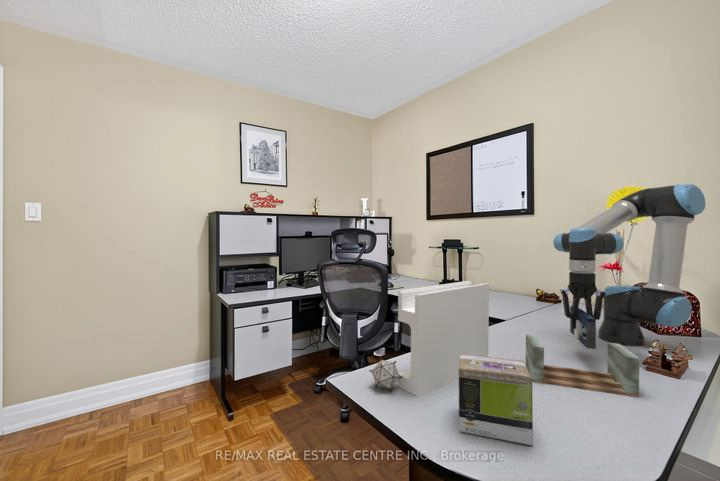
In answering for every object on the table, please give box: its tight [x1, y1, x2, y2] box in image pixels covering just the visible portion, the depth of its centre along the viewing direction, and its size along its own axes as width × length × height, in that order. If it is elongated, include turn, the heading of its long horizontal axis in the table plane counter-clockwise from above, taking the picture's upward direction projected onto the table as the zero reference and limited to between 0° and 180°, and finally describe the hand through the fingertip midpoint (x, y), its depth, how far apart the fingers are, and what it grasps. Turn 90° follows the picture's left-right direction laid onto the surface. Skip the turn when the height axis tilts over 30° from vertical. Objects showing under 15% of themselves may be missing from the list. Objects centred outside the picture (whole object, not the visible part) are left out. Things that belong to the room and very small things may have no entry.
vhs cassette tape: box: [569, 305, 597, 350], centre depth 109 cm, size 18×3×10 cm, turn 159°
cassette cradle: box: [525, 333, 641, 398], centre depth 95 cm, size 26×12×11 cm, turn 70°
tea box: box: [458, 354, 534, 446], centre depth 71 cm, size 15×10×15 cm, turn 71°
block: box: [397, 280, 490, 398], centre depth 98 cm, size 35×8×28 cm, turn 127°
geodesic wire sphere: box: [368, 357, 402, 393], centre depth 89 cm, size 9×8×10 cm
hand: (581, 338), depth 109 cm, fingers closed on vhs cassette tape, 2 cm apart
